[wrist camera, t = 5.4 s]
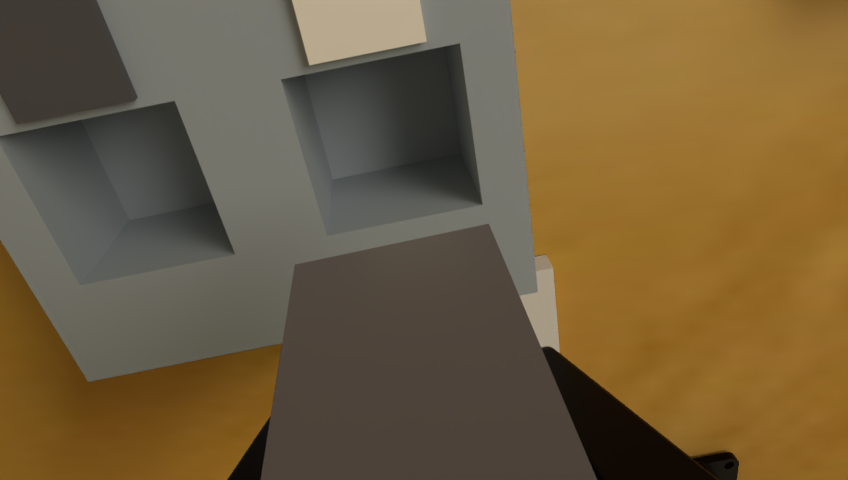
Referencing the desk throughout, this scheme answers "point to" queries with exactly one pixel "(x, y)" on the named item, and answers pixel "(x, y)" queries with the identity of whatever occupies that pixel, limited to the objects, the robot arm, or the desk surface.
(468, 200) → the port block
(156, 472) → the desk surface
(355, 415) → the plug
